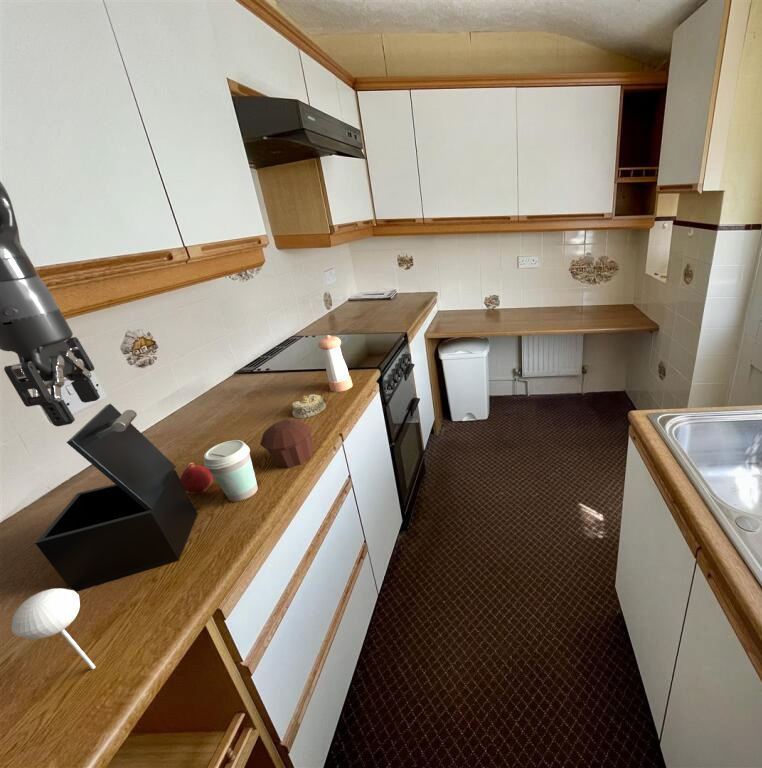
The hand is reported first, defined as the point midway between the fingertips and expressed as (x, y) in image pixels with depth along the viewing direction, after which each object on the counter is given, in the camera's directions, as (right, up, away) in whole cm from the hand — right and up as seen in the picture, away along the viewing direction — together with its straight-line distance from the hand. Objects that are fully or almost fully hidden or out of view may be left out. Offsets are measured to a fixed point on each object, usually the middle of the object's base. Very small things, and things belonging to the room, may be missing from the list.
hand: (79, 411), depth 64 cm
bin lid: (0, -9, +8) cm, 12 cm away
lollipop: (+8, -37, -5) cm, 38 cm away
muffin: (+12, -15, +40) cm, 45 cm away
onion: (-3, -21, +30) cm, 37 cm away
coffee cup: (+7, -21, +29) cm, 36 cm away
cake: (+5, -4, +64) cm, 64 cm away
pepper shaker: (+9, +3, +78) cm, 79 cm away
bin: (-4, -28, +15) cm, 32 cm away
